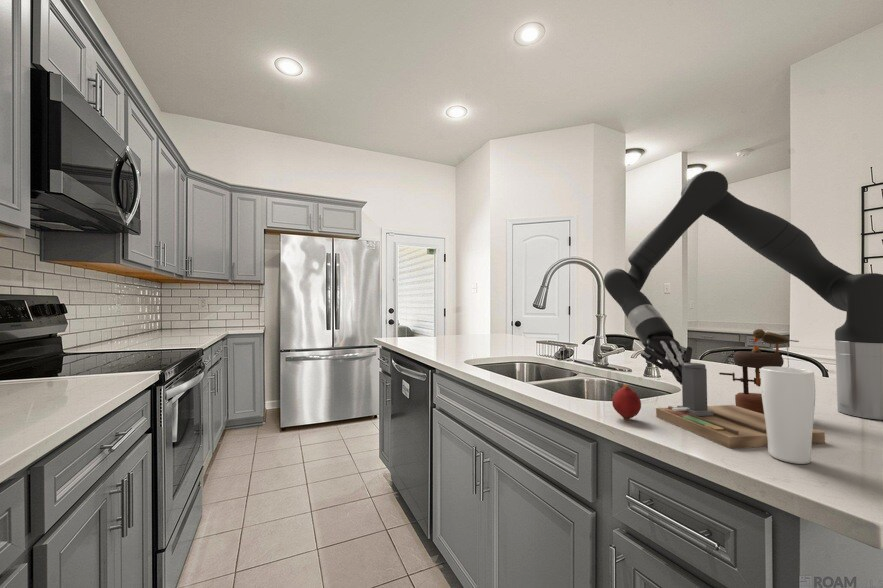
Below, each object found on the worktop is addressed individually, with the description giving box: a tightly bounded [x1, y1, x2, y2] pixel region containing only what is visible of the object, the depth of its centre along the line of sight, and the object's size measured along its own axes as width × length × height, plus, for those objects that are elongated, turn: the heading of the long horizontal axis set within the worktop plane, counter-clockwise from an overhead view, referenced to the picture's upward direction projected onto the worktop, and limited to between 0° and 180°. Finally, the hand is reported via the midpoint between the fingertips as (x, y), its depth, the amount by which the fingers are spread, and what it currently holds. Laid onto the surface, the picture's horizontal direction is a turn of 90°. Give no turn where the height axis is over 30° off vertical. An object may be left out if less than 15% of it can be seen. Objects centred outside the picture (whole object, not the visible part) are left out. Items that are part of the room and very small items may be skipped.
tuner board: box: [655, 404, 826, 449], centre depth 77 cm, size 20×19×3 cm
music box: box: [718, 328, 800, 414], centre depth 89 cm, size 15×11×20 cm
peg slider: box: [672, 362, 714, 416], centre depth 81 cm, size 7×5×11 cm
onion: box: [611, 383, 642, 421], centre depth 84 cm, size 6×6×8 cm
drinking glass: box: [760, 366, 816, 465], centre depth 62 cm, size 7×7×15 cm
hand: (686, 382), depth 84 cm, fingers closed
